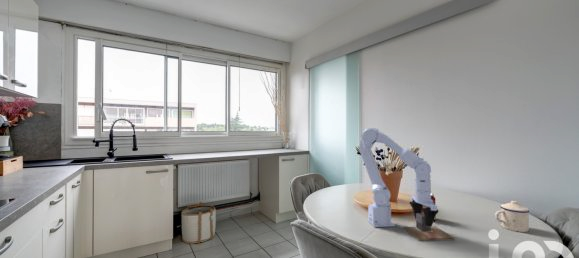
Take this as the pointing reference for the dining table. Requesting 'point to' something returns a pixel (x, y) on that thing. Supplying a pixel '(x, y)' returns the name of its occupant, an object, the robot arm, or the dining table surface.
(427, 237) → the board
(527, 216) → the teacup with lid
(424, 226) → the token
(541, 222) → the dining table surface
